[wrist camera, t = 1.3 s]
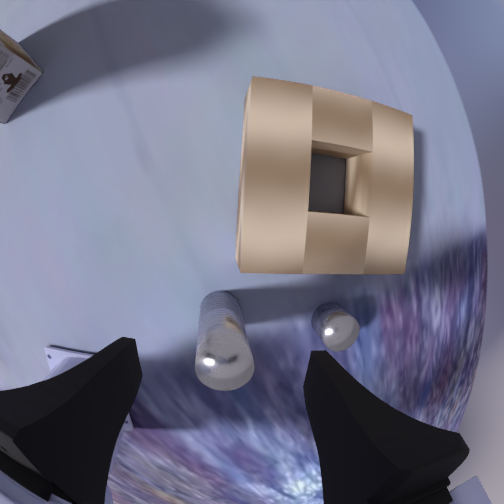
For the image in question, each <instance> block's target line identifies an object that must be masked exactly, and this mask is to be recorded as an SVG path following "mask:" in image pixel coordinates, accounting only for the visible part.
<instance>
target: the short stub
mask: <svg viewBox="0 0 504 504" xmlns="http://www.w3.org/2000/svg"><path fill="white" fill-rule="evenodd" d="M311 324H312V328H313V329H314V331H315V332H316V333H317V335H318V336H319V337H320V339H321V340H322V341H323V342H324V344H325V345H326V346H327V348H328V349H330V350H332V351H342V350H345V349H347V348H349V347H350V346H351V345H352V344H353V343H354V342H355V341H356V339H357V337H358V335H359V329H360V328H359V324H358V322H357V320H356V319H355V318H353V317H352V316H351V315H350V314H349V313H348V312H346V311H345V310H344V309H343V308H342V307H341V306H339V305H338V304H336V303H325V304H323V305H321V306H320V307H319V308H318V309H317V310H316V311H315V312H314V314H313V316H312V320H311Z"/></svg>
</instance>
